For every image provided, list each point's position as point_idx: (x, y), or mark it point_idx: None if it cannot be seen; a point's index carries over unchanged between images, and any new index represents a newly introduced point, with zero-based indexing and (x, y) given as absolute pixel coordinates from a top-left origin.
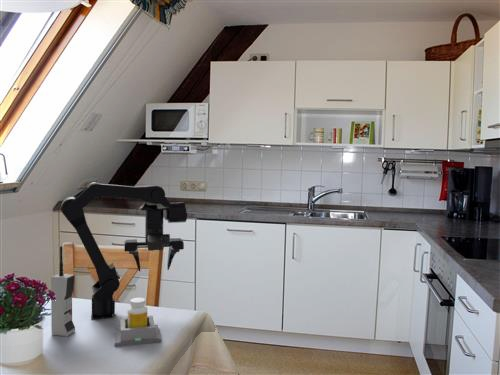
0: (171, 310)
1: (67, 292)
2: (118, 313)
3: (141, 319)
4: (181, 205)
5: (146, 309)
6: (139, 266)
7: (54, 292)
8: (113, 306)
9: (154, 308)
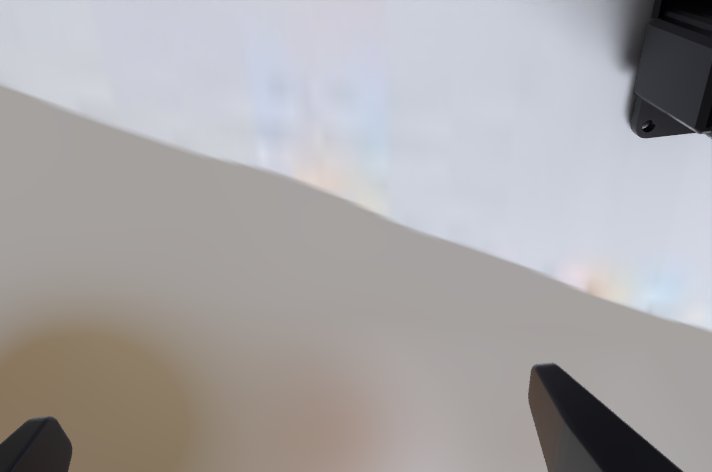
0: (151, 90)
1: None
2: (597, 67)
3: None
4: None
5: None
6: (587, 431)
7: None
8: (697, 28)
9: (304, 151)
